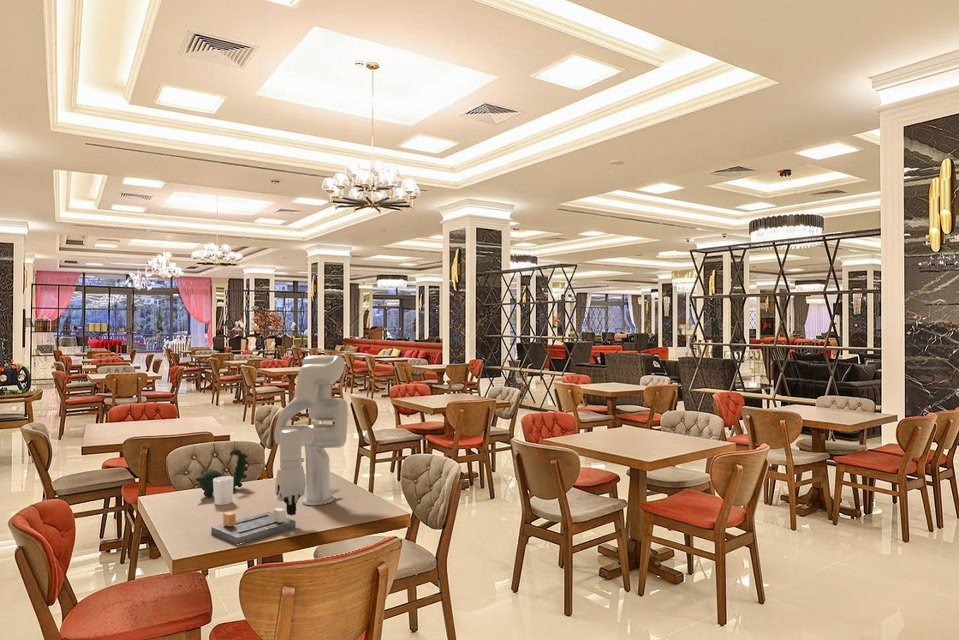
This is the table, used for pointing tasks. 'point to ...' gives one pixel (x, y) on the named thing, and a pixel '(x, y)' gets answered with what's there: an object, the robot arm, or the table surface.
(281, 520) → the fader
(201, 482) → the toy figurine
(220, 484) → the white cup
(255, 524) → the console
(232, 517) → the fader
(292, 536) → the table surface
